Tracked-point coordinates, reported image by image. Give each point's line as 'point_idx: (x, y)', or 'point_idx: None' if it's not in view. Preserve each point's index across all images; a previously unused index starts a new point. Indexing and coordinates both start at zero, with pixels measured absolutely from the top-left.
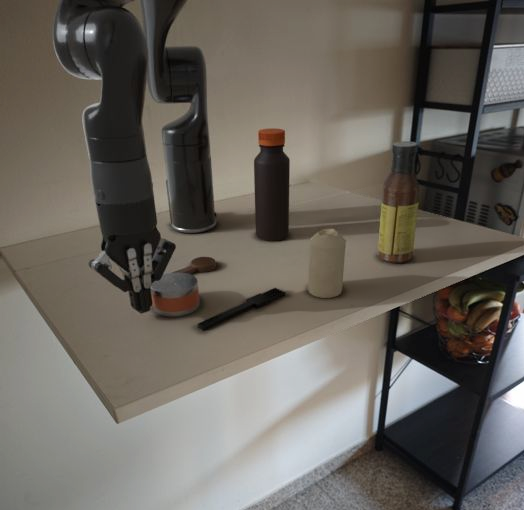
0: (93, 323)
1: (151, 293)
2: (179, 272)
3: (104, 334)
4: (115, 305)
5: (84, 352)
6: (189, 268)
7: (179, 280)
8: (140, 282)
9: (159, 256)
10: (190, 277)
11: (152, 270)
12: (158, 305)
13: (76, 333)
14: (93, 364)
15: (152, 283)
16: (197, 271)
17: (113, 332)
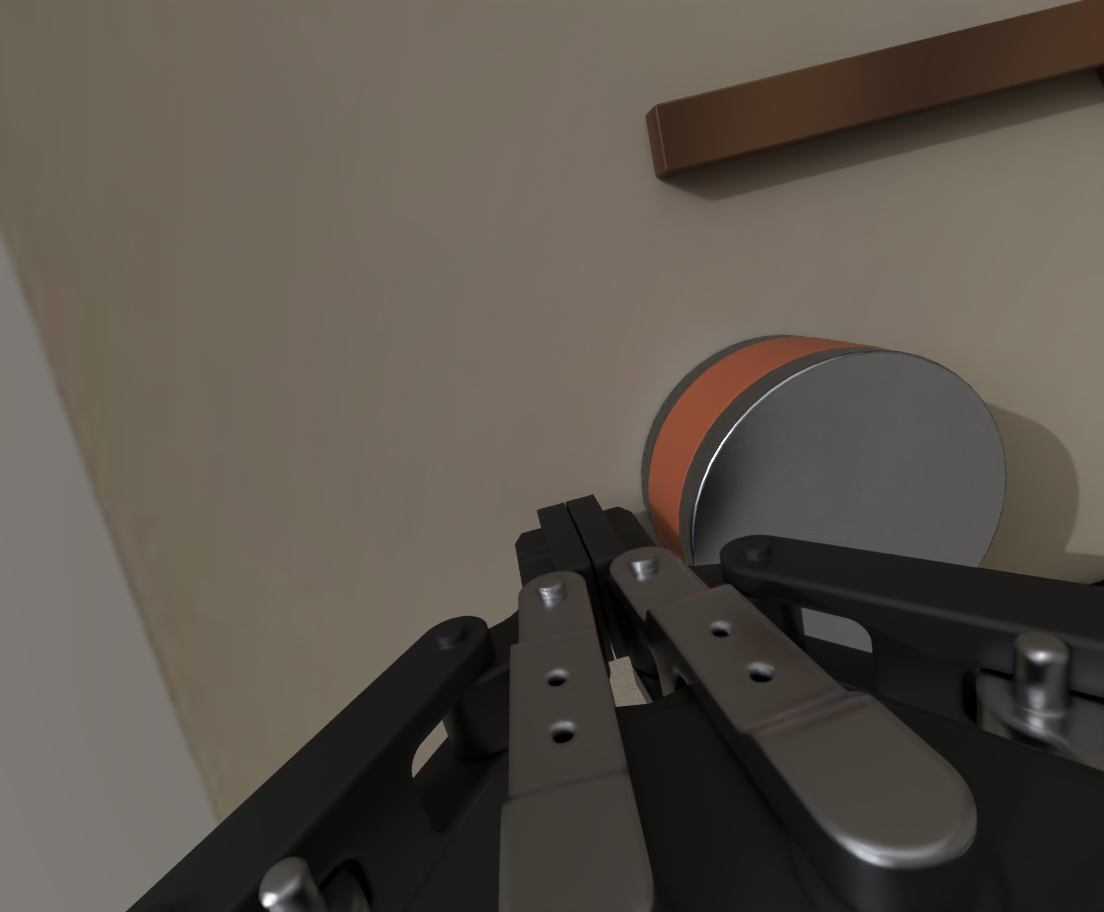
0: (289, 437)
1: (675, 500)
2: (1000, 68)
3: (332, 578)
4: (457, 275)
5: (213, 690)
6: (1090, 40)
7: (896, 510)
8: (630, 640)
9: (941, 701)
10: (975, 502)
11: (780, 624)
12: (666, 545)
13: (181, 502)
14: (247, 788)
15: (727, 466)
16: (1102, 74)
17: (380, 579)
